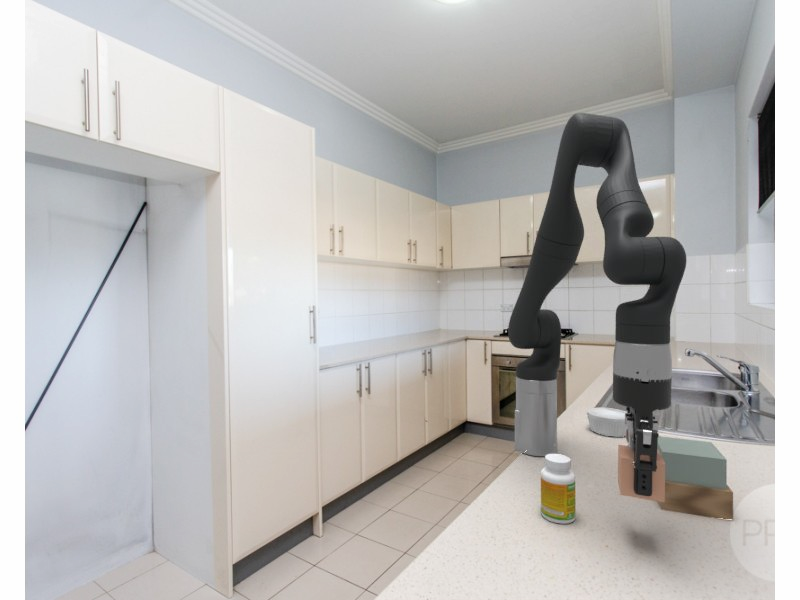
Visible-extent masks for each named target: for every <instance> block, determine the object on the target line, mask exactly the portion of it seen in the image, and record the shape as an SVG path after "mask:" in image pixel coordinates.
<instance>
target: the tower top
mask: <svg viewBox="0 0 800 600" xmlns="http://www.w3.org/2000/svg"><path fill="white" fill-rule="evenodd" d="M657 450H659V451H660V453H661V456H662V458H663V460H664V462H665V481H667V482H674V483H681V484H688V485H695V486H701V487H708V488H715V489H722V490H726V488H727V485H728V484H727V481H728V480H727V476H728V475H727V466H728V465H727V458H726V457H725V456H724V455H723V454H722V453H721V451H720V450H719V448H717V447H716V445H714V443H713V442H711V441H703V440H695V439H685V438H684V439H683V438H677V437H671V436H670V437H668V436H659V437H658V443H657Z"/></svg>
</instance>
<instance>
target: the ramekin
mask: <svg viewBox="0 0 800 600" xmlns="http://www.w3.org/2000/svg"><path fill="white" fill-rule="evenodd" d="M625 413H627V410H626V411H625V410H622V409H617V408H611V407H592V408H588V409H586V415H587V419H588V423H589V425H588V426H589V429H590V430H591V431H592V432H593V431H594V432H596V433H598V434H597V435H599V434H602V435H601V436H603V435H606V436H605V437H608V436H615V437H614V438H624V437H623V436H626V424H625ZM594 432H593V433H594ZM596 433H595V434H596Z"/></svg>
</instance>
